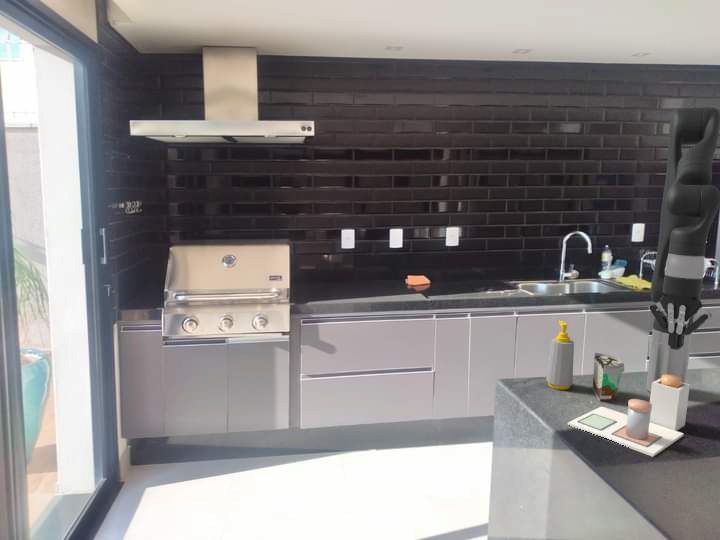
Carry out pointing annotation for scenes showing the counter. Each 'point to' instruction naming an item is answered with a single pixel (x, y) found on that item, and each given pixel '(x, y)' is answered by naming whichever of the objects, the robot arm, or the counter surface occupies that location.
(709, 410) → the counter surface
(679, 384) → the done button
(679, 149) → the robot arm
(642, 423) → the peach-capped grey cylinder
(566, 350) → the soap bottle
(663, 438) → the picture board
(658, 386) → the white open box
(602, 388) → the food container
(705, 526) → the counter surface
